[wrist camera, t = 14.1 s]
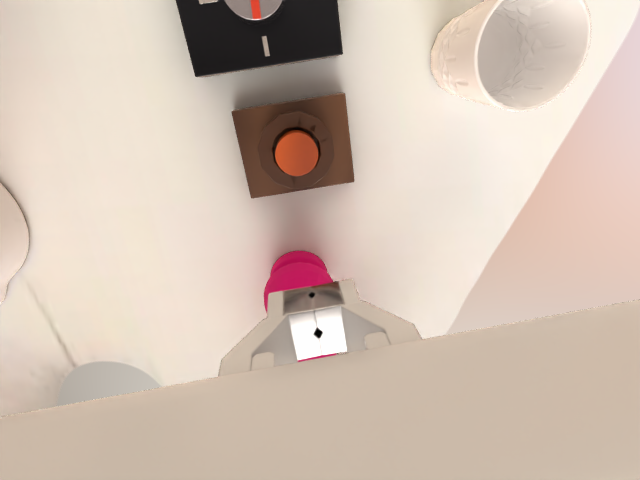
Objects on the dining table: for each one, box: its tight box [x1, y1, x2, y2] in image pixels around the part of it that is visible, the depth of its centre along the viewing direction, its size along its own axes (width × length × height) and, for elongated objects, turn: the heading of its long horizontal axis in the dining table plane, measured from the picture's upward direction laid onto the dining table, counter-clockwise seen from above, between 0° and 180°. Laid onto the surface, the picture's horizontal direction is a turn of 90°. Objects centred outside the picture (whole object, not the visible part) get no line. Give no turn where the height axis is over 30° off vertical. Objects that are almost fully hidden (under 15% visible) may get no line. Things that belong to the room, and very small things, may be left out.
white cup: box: [431, 0, 591, 112], centre depth 29 cm, size 8×8×10 cm
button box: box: [232, 93, 354, 198], centre depth 34 cm, size 10×8×4 cm
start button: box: [275, 130, 318, 176], centre depth 32 cm, size 4×4×2 cm
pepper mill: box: [264, 251, 337, 362], centre depth 32 cm, size 7×7×20 cm
